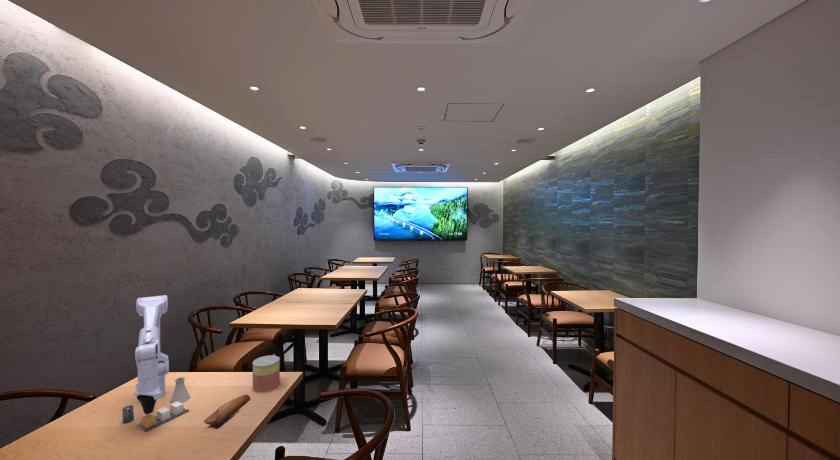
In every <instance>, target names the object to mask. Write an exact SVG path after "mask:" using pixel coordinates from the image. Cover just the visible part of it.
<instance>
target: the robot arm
mask: <svg viewBox="0 0 840 460" xmlns="http://www.w3.org/2000/svg"><path fill="white" fill-rule="evenodd" d="M168 303H169V299H168V295H167V294H164V295H156V296H155V295H154V296H153V295H152V296H146V297H138V298H137V299H136V303H135V304H136V305H135V307H136V308H135V309H136V313H137V314H138V315H139V317H143V328H140V331H139V336H138V345H137V346H136V348H135V352H134V356H135V357H134V359H135V362H136V368H137V383H136V384H135V392H133V395H134V396H136V400H138V401H139V404H140V405H141V408H142V411H143V413H144V415H148V414H150V413H151V414H152V413H153V412H154V410H155V405H156V403H157V401H158V400H159V399H161V398H162V397H164V396H165V395H166V375H168V373H170V361H169V355H167V354H166V353H163V352H162V351H161V317H162V315H164V314H166V313H167V311H168V305H169V304H168Z"/></svg>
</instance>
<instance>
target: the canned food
mask: <svg viewBox="0 0 840 460" xmlns="http://www.w3.org/2000/svg"><path fill="white" fill-rule="evenodd" d="M280 360H281V358H280V356H277V355H273V354H272V355H263V356H260V357H257V358H255V359H254V360H253V361H252V391H253V392H255V393H258V394H262V393H263V394H264V393H269V392H272V391H274V390H276V389H278V388H279V387H278V386H280V385H281V382H280V381H281V380H280V377H281V376H280V375H281V373H280V368H281V367H280Z"/></svg>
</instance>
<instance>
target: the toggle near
mask: <svg viewBox="0 0 840 460" xmlns="http://www.w3.org/2000/svg"><path fill="white" fill-rule="evenodd" d="M169 404H170V409H169V410H170V411H171V413H173V414H175V415H177V414H179V413H181V412H183V408H184V403H180V402H178V401H177V402H175V403H173V404H171V403H169Z"/></svg>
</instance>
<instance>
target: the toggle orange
mask: <svg viewBox="0 0 840 460" xmlns="http://www.w3.org/2000/svg"><path fill="white" fill-rule="evenodd" d="M156 416H157V415H154V414H152V413H150V414H147V415H146V414H144V416H142V417H141V422H142V425H143V426H144V427H146V428H149V427H151V426H153V425H155V424H156Z"/></svg>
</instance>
